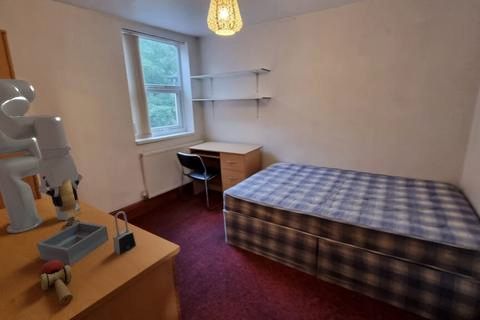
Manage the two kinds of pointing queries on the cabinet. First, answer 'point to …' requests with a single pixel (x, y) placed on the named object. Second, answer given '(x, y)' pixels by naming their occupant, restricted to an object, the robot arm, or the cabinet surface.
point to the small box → (68, 212)
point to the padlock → (123, 238)
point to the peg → (66, 196)
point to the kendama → (57, 279)
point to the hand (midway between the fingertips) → (66, 202)
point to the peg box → (73, 243)
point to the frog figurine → (71, 222)
